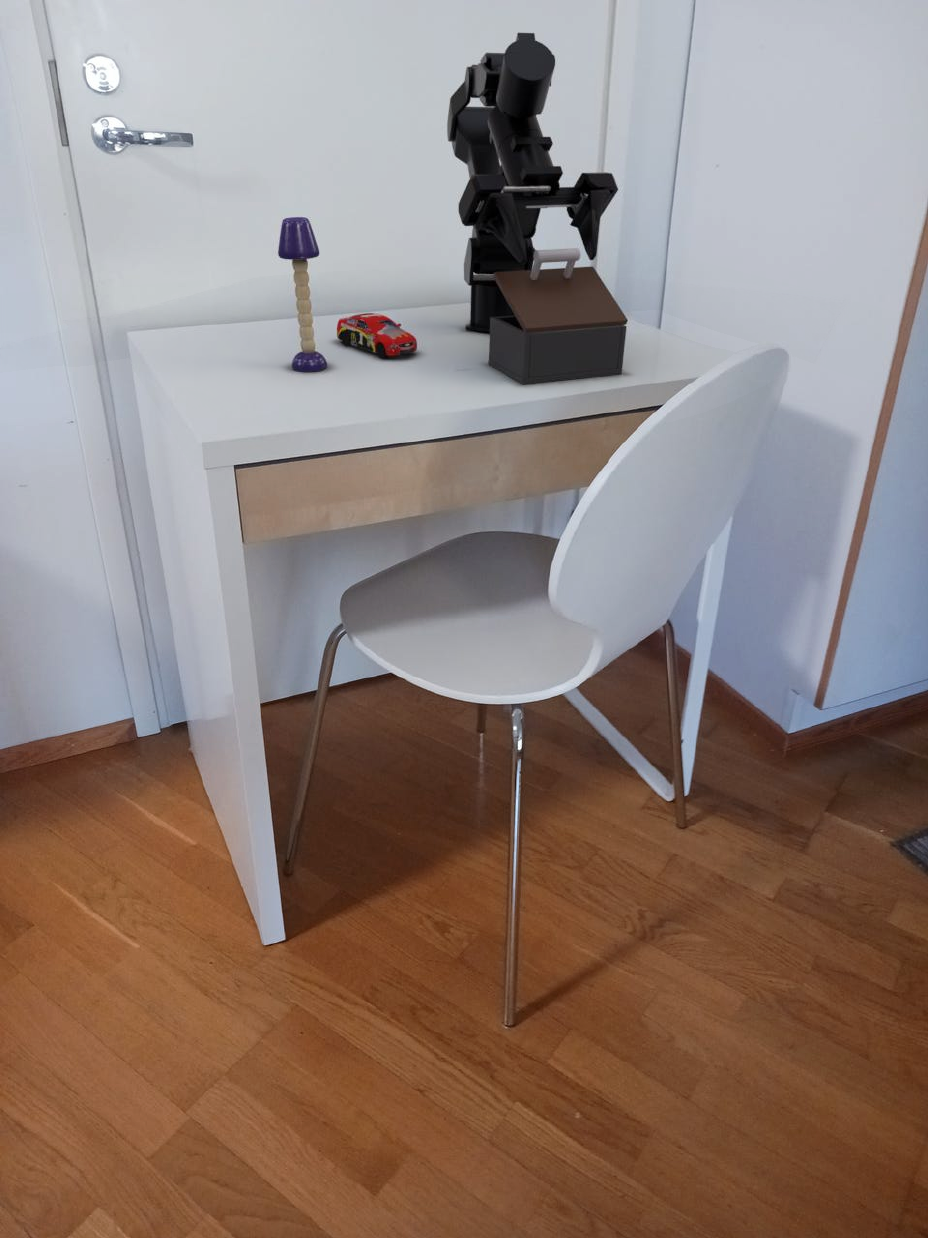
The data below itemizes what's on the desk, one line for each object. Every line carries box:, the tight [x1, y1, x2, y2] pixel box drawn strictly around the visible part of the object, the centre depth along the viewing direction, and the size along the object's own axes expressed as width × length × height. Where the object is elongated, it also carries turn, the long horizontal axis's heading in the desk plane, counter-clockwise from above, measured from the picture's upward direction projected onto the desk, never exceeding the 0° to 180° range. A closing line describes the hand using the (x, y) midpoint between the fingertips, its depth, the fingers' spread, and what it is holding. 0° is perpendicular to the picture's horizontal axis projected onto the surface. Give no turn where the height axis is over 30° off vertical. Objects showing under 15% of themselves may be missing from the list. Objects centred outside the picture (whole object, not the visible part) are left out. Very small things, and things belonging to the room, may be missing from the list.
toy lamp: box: [277, 216, 328, 373], centre depth 110 cm, size 5×5×17 cm
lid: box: [493, 247, 629, 333], centre depth 110 cm, size 10×13×4 cm
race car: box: [336, 312, 418, 359], centre depth 122 cm, size 13×5×4 cm, turn 39°
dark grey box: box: [488, 315, 627, 385], centre depth 115 cm, size 9×13×6 cm
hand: (559, 259), depth 110 cm, fingers open, 9 cm apart
